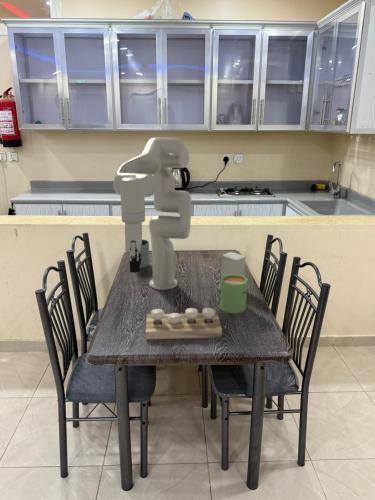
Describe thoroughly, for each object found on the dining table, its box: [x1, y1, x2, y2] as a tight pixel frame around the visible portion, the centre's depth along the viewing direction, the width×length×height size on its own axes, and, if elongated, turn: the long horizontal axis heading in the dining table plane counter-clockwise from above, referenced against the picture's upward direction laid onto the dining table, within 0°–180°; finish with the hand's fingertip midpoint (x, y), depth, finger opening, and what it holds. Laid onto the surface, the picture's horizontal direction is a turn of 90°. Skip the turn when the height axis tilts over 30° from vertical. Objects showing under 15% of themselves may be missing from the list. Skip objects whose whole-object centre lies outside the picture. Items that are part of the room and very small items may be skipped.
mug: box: [219, 274, 248, 314], centre depth 156 cm, size 13×10×12 cm
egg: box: [201, 307, 216, 323], centre depth 140 cm, size 4×4×5 cm
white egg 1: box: [168, 312, 181, 324], centre depth 140 cm, size 4×4×5 cm
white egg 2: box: [184, 307, 199, 324], centre depth 140 cm, size 4×4×5 cm
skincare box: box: [219, 251, 246, 289], centre depth 171 cm, size 8×7×16 cm
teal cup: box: [139, 239, 150, 269], centre depth 198 cm, size 10×10×12 cm
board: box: [145, 312, 223, 340], centre depth 141 cm, size 12×26×3 cm, turn 93°
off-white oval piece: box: [150, 308, 165, 325], centre depth 139 cm, size 4×4×5 cm
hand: (135, 267), depth 133 cm, fingers open, 5 cm apart
